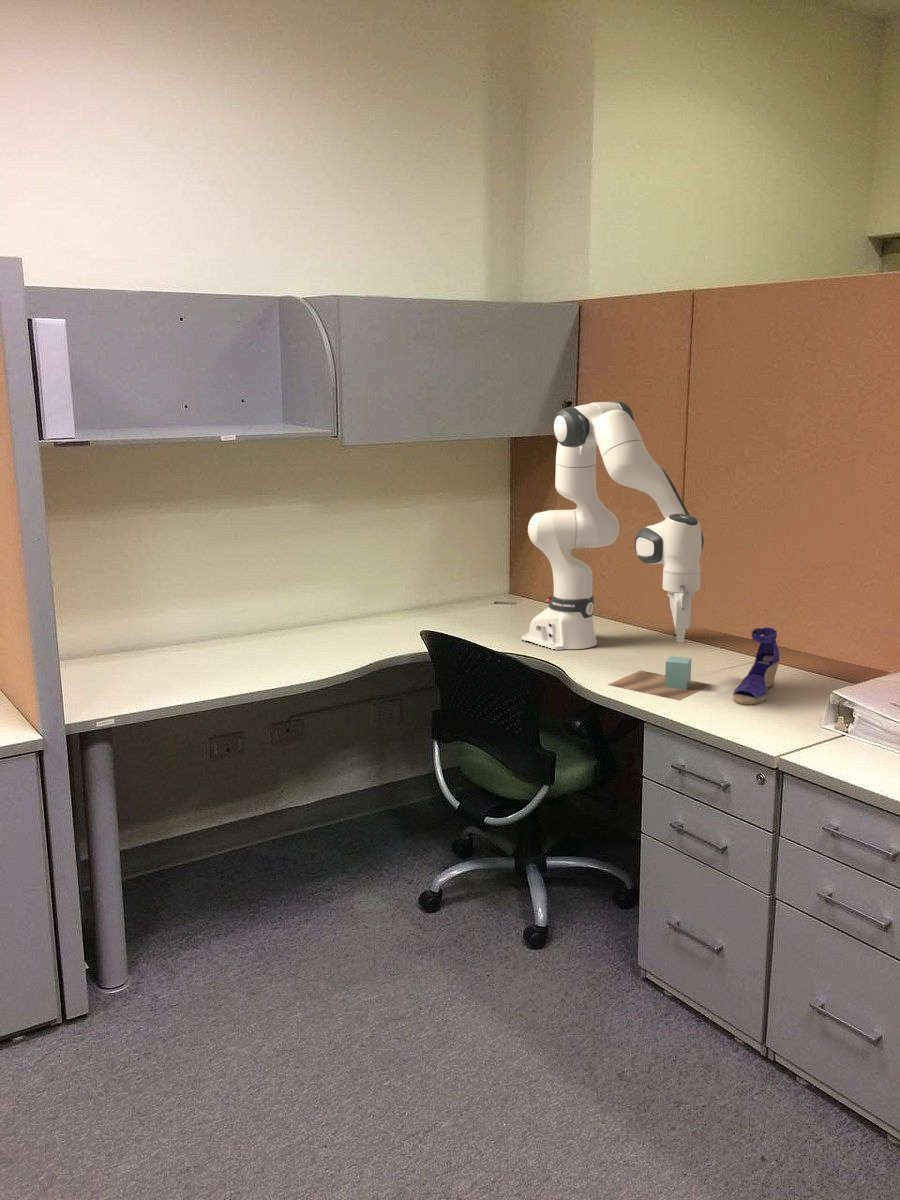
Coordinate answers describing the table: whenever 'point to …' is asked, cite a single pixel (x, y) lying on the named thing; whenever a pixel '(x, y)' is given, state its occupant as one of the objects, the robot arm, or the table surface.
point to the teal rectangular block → (678, 672)
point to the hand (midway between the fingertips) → (679, 637)
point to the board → (656, 685)
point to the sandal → (760, 669)
